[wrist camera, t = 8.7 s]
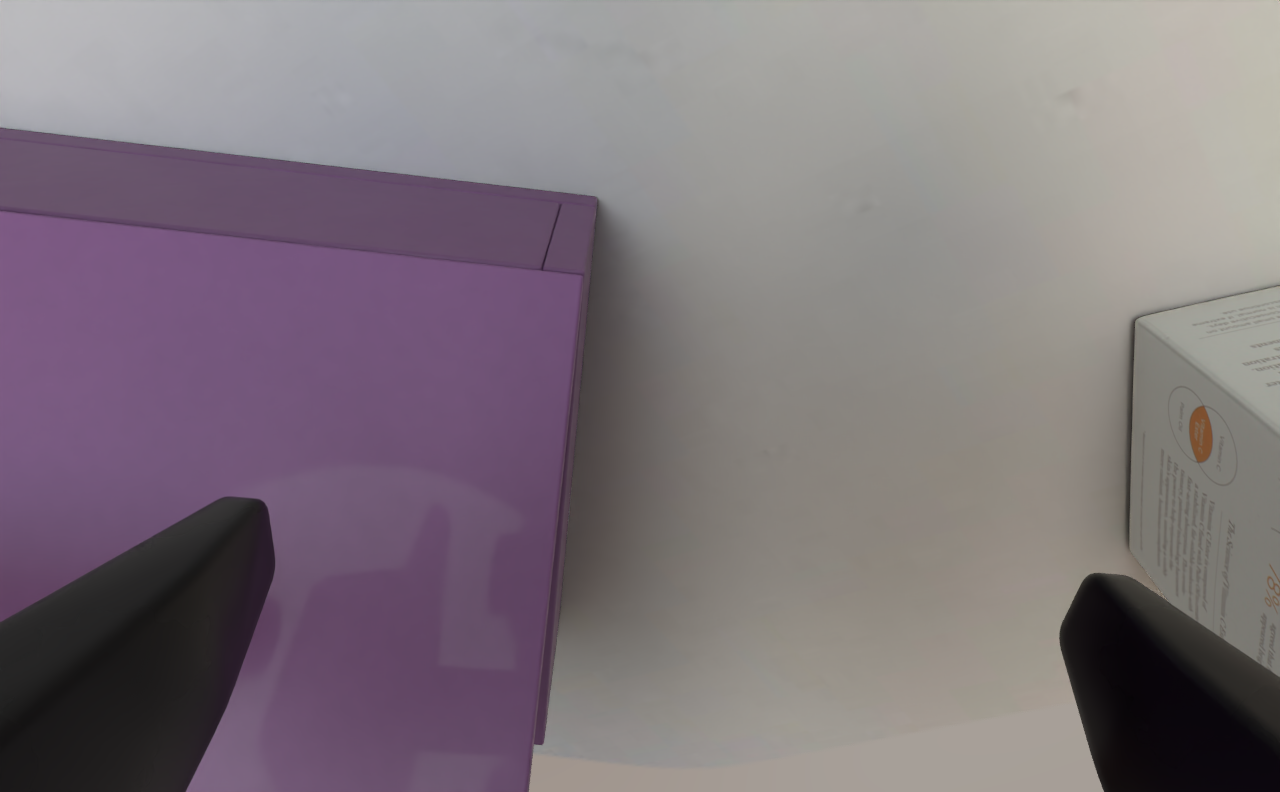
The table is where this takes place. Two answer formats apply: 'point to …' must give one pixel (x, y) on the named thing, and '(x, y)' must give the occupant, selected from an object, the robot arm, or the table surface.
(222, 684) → the robot arm
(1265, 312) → the small box
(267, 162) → the file box
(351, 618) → the lid
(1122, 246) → the table surface
